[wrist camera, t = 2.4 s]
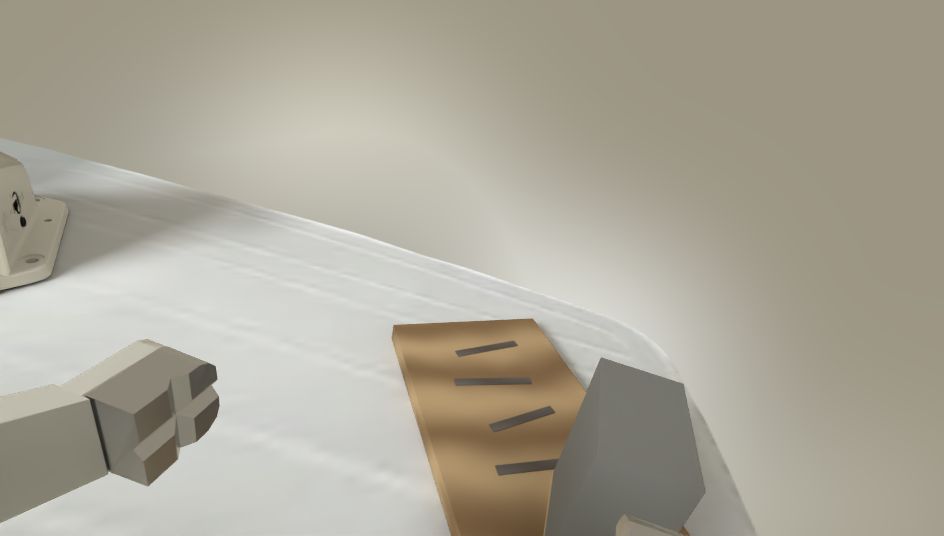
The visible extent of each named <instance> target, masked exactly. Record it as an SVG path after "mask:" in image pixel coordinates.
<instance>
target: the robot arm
mask: <svg viewBox="0 0 944 536" xmlns="http://www.w3.org/2000/svg"><path fill="white" fill-rule="evenodd" d="M67 216H68V209H67V206H66V204H65V203H64V202H62V201H59V200H56V199H52V198H47V197H42V196H36V195H34V193H33V190H32V186H31V183H30V180H29V177H28V174H27V171H26V169H25V167H24V165H23V164H22V163H21V162H20V161H18V160H17V159H15V158H13V157H11V156H9V155H7V154H5V153H2V152H0V290H3V289H8V288H12V287H17V286H21V285H26V284H30V283H33V282H37V281H40V280H43V279H45V278H47V277H49V276H50V275H51V273H52V270H53V267H54V263H55V259H56V256H57V252H58V248H59V245H60V241H61V238H62V234H63V230H64V227H65V223H66V219H67ZM216 380H217V373H216V366H214V365H212V364H210V363H207V362H205V361H202V360H200V359H197V358H195V357H192V356H190V355H187V354H185V353H182V352H180V351H177V350H175V349H172V348H170V347H167V346H164V345H161V344H159V343H156V342H154V341H151V340H148V339H146V340H140V341H136V342H134V343H133V344H131V345H129V346H127V347H126V348H124V349H122V350H121V351H119V352H117V353H116V354H114V355H112V356H111V357H109V358H107V359H106V360H104V361H102V362H100V363H99V364H97V365H95V366H94V367H92V368H90V369H89V370H87V371H85V372H84V373H82V374H80V375H79V376H77V377H75V378H74V379H72V380H70V381H68V382H67V383H65V384H63V385H62V386H60V387H59V386H56V385H53V384H52V385H48V386H44V387H39V388H35V389H31V390H27V391H23V392H18V393H14V394H10V395H6V396H2V397H0V523H1V522H4V521H6V520H8V519H10V518H12V517H15V516H17V515H19V514H21V513H24V512H26V511H28V510H30V509H32V508H35V507H37V506H39V505H41V504H43V503H46V502H48V501H50V500H52V499H55V498H57V497H59V496H61V495H63V494H66V493H68V492H70V491H72V490H74V489H77V488H79V487H81V486H83V485H86V484H88V483H90V482H92V481H94V480H97V479H99V478H101V477H103V476H105V475H107V474H108V471H109V472H111V473H114V474H116V475H119V476H122V477H124V478H127V479H129V480H132V481H135V482H137V483H140V484H142V485H145V486H149V485H150V484H151V483H152V482H154V481H155V480H156V479H157V478H158V477H159V476H160V475H161V474H162V473H163V472H164V471H166V470H167V469H168V468H169V467H170V466H171V465H172V464H173V463H174V462H175V461H176V460H177V459H178V456H179V452H180V448H181V447H184V446H186V445H189V444H192V443H195V442H197V441H198V440H199V439H200V438H201V437H202V436H203V435H204V434H205V433H206V432H207V431H208V430H209V428H210V427H211V425H212V423H213V422H214V420H215V419H216V417H217V413H218V409H219V396H218V394H217V393H216V391H215V390H214V388H213V387H212V384H213V383H214V382H215V381H216ZM616 536H684V535H683V534H681V533H678V532H676V531H673V530H670V529H667V528H664V527H661V526H658V525H656V524H653V523H650V522H647V521H644V520H641V519H638V518H636V517H633V516H630V515H627V514H624V515H623V516H622V517H621V518H620V520H619V522H618V524H617V525H616Z"/></svg>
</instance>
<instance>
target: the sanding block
mask: <svg viewBox="0 0 944 536" xmlns="http://www.w3.org/2000/svg"><path fill="white" fill-rule="evenodd" d="M704 493H705V487H704V482H703V477H702V473H701V468H700V463H699V458H698V453H697V448H696V443H695V438H694V433H693V429H692V424H691V419H690V414H689V409H688V404H687V399H686V394H685V390H684V385H683V384H682V383H679V382H676V381H672V380H669V379H666V378H663V377H660V376H657V375H654V374H651V373H648V372H645V371H642V370H638V369H635V368H632V367H629V366H626V365H623V364H620V363H617V362H614V361H611V360H608V359H604V358H601V359H600V361H599V363H598V366H597V368H596V371H595V373H594V376H593V378H592V380H591V383H590V385H589V388H588V390H587V392H586V395H585V397H584V400H583V402H582V404H581V407H580V409H579V412H578V414H577V416H576V419H575V421H574V424H573V426H572V428H571V431H570V433H569V436H568V438H567V441H566V443H565V445H564V448H563V450H562V453H561V455H560V457H559V460H558V462H557V465H556V467H555V469H554V472H553V474H552V478H551V485H550V492H549V499H548V506H547V513H546V520H545V527H544V534H543V536H616V525H617V524H618V522H619V520H620V518H621V517H622V516H623V515H624V514H627V515H630V516H633V517H636V518H638V519H641V520H644V521H647V522H650V523H653V524H656V525H658V526H661V527H664V528H667V529H670V530H673V531H676V532H679V531H680V529H681V528H682V526H683V525H684V523H685V522H686V520H687V519H688V517H689V516H690V514H691V513H692V511H693V510H694V508H695V507H696V505H697V504H698V502H699V501H700V499H701V498H702V496H703V495H704Z"/></svg>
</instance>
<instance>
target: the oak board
mask: <svg viewBox="0 0 944 536" xmlns="http://www.w3.org/2000/svg"><path fill="white" fill-rule="evenodd" d="M392 341H393V344H394V347H395V351H396V354H397V357H398V361H399V364H400V367H401V371H402V374H403V377H404V380H405V384H406V387H407V390H408V394H409V397H410V400H411V404H412V407H413V410H414V413H415V417H416V420H417V423H418V427H419V430H420V433H421V437H422V440H423V443H424V447H425V450H426V453H427V456H428V460H429V463H430V466H431V470H432V473H433V476H434V480H435V483H436V486H437V490H438V493H439V496H440V499H441V503H442V506H443V509H444V513H445V516H446V519H447V523H448V526H449V529H450V532H451V536H543V534H544V527H545V520H546V513H547V506H548V499H549V492H550V485H551V478H552V474H553V472H554V469H555V467H556V465H557V462H558V460H559V457H560V455H561V453H562V450H563V448H564V445H565V443H566V441H567V438H568V436H569V433H570V431H571V428H572V426H573V424H574V421H575V419H576V416H577V414H578V412H579V409H580V407H581V404H582V402H583V400H584V397H585V395H586V391H585V390H584V389H583V387H582V386H581V384H580V383H579V382H578V380H577V379H576V377H575V376H574V375H573V373H572V372H571V371H570V369H569V368H568V366H567V365H566V364H565V362H564V361H563V360H562V358H561V357H560V355H559V354H558V353H557V351H556V350H555V349H554V347H553V346H552V344H551V343H550V342H549V340H548V339H547V337H546V336H545V335H544V333H543V332H542V331H541V329H540V328H539V326H538V325H537V324H536V322H535V321H534V320H533V319H513V320H492V321H470V322H449V323H427V324H406V325H394V327H393V334H392ZM678 533H681V534H683V535H684V536H690V535H689V533H688V532H687V531H686V529H685V528H684V526H682V528H681V529H680V531H679V532H678Z"/></svg>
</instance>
